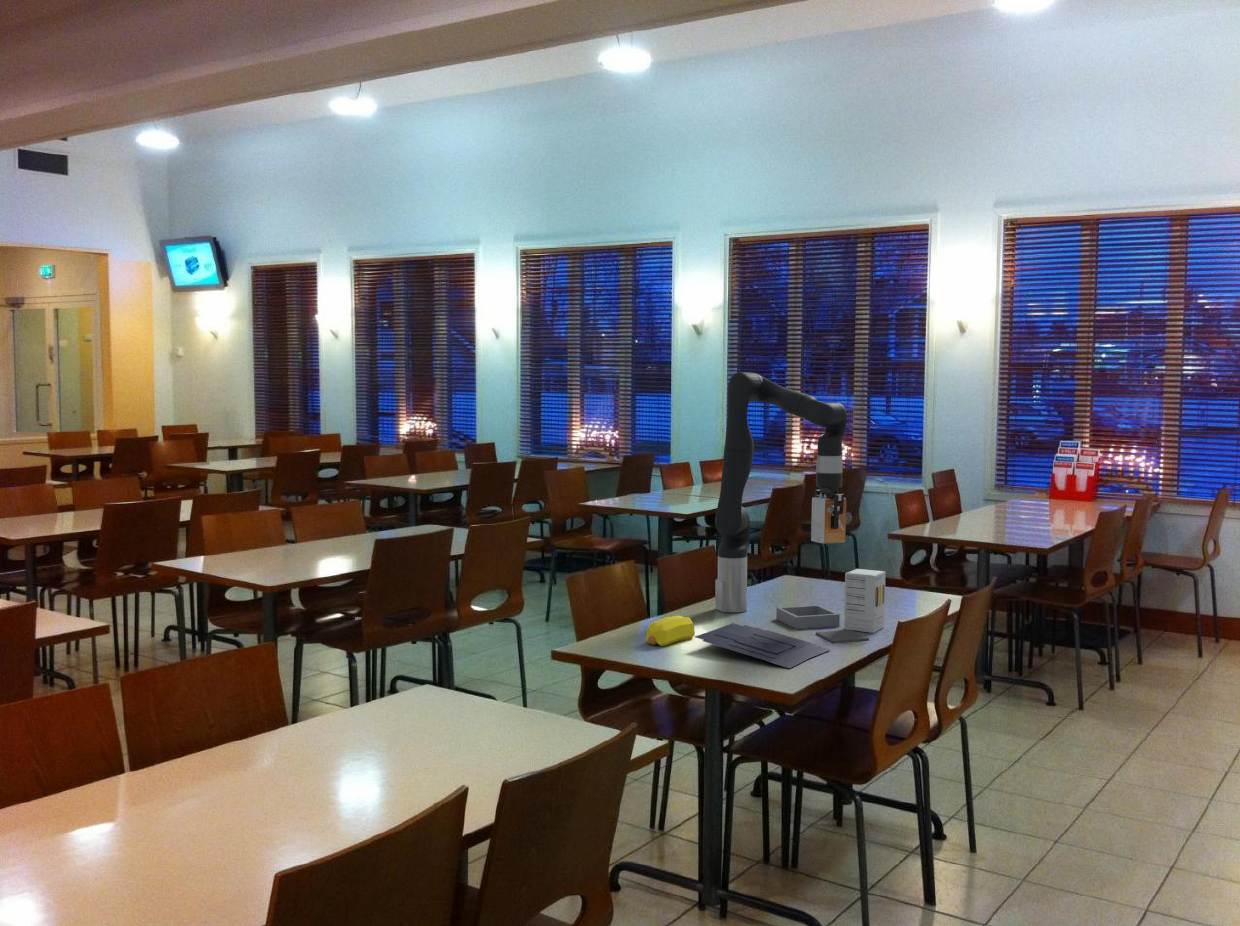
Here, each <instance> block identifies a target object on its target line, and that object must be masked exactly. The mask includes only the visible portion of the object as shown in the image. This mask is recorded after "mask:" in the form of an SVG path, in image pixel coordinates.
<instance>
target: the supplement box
mask: <svg viewBox="0 0 1240 926" xmlns="http://www.w3.org/2000/svg"><path fill="white" fill-rule="evenodd" d="M885 607H886V571H884V570H883V571H882V570H873V569H865V568H863V569H862V568H855V569H853V570H850V571H848V572H845V573H844V625H843V626H844V629H843V630H852V631H854V632H856V631H857V632H863V633H864V632H865V633H871V634H874V633H877V632H878V631H880V630H882V629H885V616H886V614H885V611H886V608H885Z"/></svg>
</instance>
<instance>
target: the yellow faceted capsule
mask: <svg viewBox="0 0 1240 926" xmlns="http://www.w3.org/2000/svg"><path fill="white" fill-rule="evenodd" d="M691 619H692V618H690V617H689V616H686V617H685V616H682V615H673V616H666V617H663V618H660V619H657V620H655V621H652V622H651V623H650V624H649V625H648V626H647V630H646V636H645V637H646V638H645V640H646V641H645V642H646V643H647V644H649V645H653V646H654V645H657V644H658V645H659V646H661V647H665V646H669V645H671V644H674V643H676V642H681V641H687V640H689V639H690V640H691V639H692V638H693V637H695V636H696V634H695V626H694V622H693V621H692V620H691Z"/></svg>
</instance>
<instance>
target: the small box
mask: <svg viewBox="0 0 1240 926" xmlns="http://www.w3.org/2000/svg"><path fill="white" fill-rule="evenodd" d="M831 505H834V499H833V500H832V499H825V498H821V497H817V498H815V497H812V498H811V523H810V524H811V525H810V526H811V530H810V531H811V532H810V534H811V535H810V541H811V542H814V543H818V544H824V545H825V544H835V543H836V544H837V543H846V529H847V528H846V527H847V525H846V524H847V520H846V519H847V498H846V497H844V504H843V514H841V515H840V516H839V526H838V529H831V509H830V507H829V506H831ZM839 510H840V507H839ZM833 511H834V508H833Z"/></svg>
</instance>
